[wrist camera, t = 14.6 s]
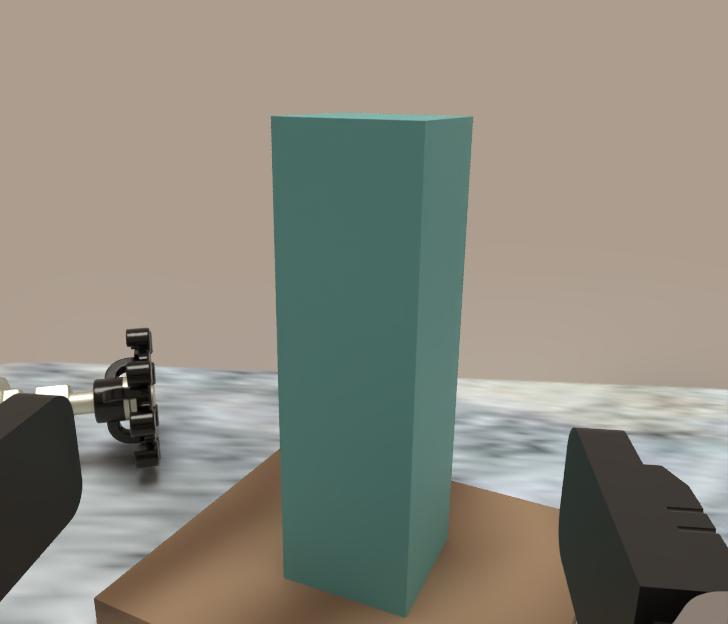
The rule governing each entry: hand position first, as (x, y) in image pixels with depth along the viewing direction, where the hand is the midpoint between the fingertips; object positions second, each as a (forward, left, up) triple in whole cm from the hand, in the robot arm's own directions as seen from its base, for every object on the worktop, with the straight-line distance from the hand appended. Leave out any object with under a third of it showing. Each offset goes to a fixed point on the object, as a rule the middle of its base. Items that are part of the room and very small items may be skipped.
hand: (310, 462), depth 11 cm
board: (-4, +10, -11) cm, 15 cm away
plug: (-4, +10, -10) cm, 15 cm away
